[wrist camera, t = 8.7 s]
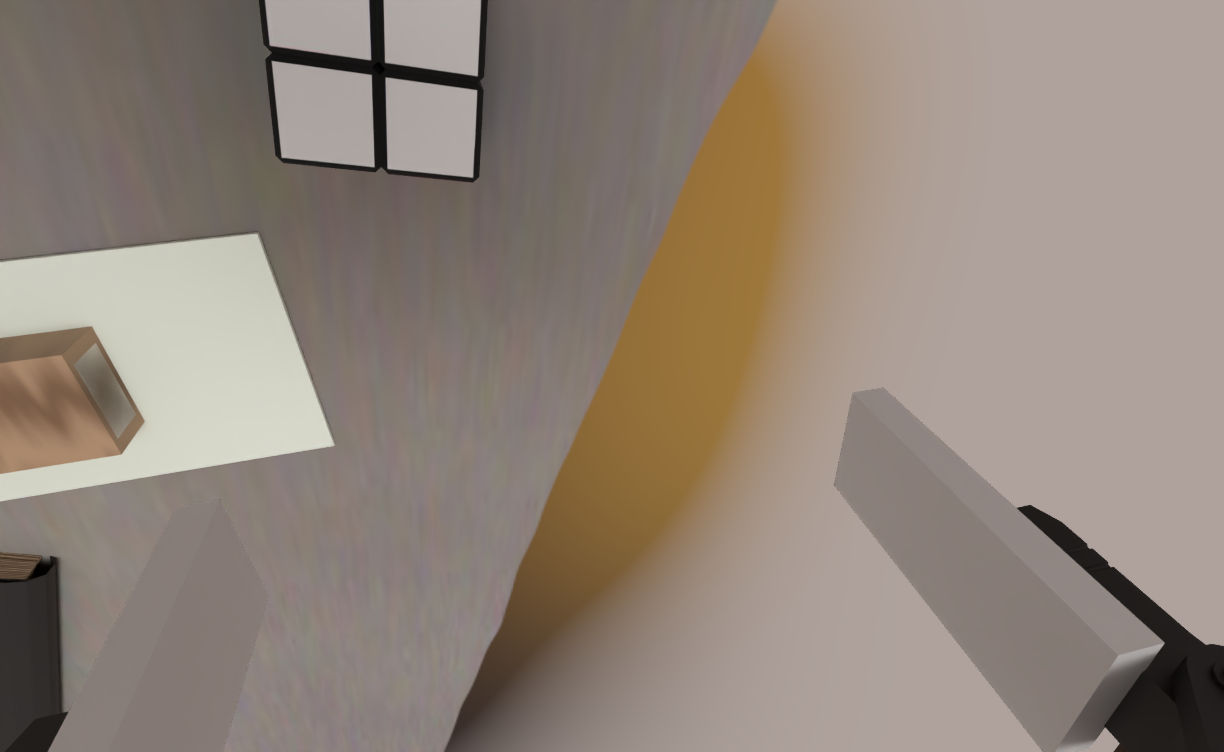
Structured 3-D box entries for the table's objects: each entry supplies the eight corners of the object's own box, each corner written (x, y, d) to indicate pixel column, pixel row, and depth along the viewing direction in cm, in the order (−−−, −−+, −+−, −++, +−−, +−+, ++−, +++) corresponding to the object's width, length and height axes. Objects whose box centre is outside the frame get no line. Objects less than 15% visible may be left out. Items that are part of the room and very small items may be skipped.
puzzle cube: (472, 146, 42) (479, 184, 34) (311, 128, 39) (274, 164, 31) (480, -28, 37) (489, -34, 29) (295, -63, 34) (247, -80, 26)
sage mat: (-282, 291, 37) (-289, 294, 36) (258, 231, 42) (257, 233, 41) (-86, 512, 46) (-89, 516, 46) (335, 442, 51) (334, 445, 51)
